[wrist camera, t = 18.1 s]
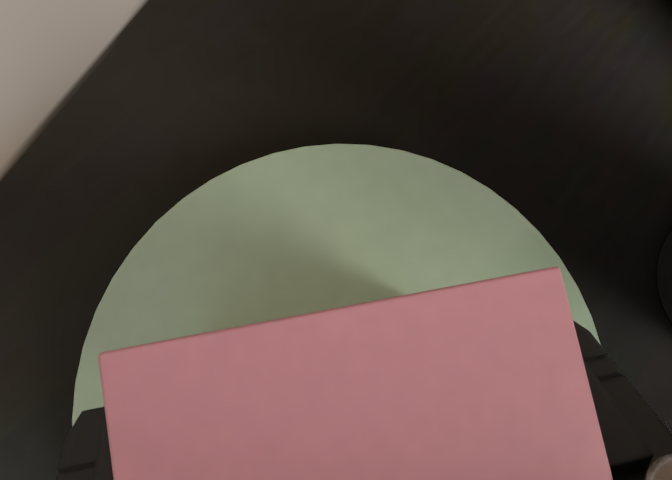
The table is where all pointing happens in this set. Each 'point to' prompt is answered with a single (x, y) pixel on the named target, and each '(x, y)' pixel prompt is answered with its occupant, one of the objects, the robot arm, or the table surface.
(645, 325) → the table surface
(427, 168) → the plate
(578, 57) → the table surface
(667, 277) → the drinking cup
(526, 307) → the cake slice
